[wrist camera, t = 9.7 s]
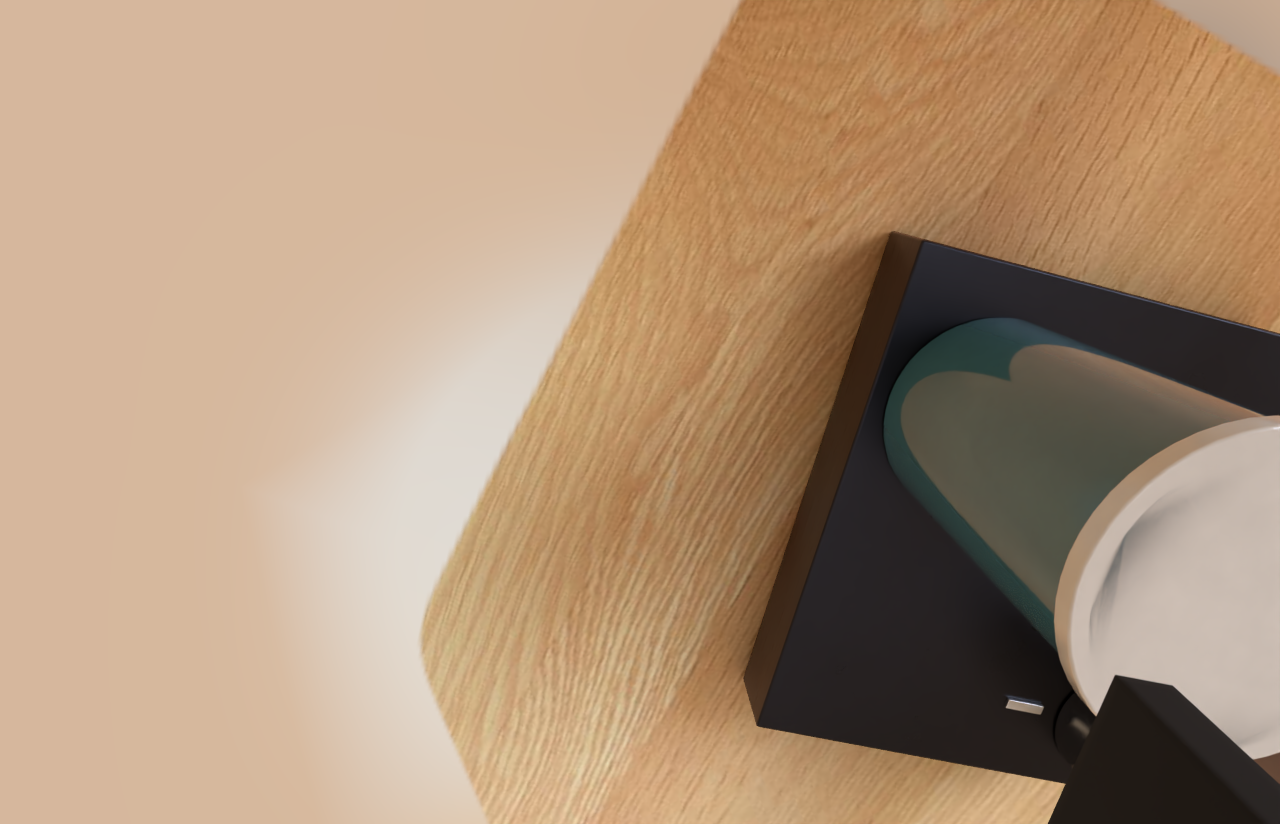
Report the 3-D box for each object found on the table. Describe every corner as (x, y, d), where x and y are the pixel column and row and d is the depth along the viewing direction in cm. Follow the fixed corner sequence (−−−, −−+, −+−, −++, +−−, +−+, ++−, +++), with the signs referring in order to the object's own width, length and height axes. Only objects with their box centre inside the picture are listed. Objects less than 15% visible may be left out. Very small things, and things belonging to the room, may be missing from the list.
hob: (890, 230, 29) (924, 239, 26) (1333, 347, 31) (1413, 368, 28) (733, 706, 34) (746, 759, 31) (1121, 779, 36) (1169, 836, 33)
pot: (917, 282, 27) (1164, 383, 15) (1131, 338, 27) (1517, 472, 16) (843, 497, 29) (1011, 730, 17) (1045, 542, 29) (1333, 793, 18)
